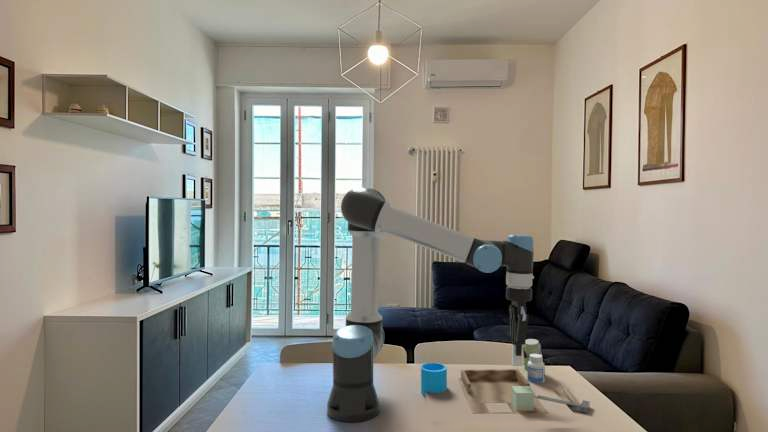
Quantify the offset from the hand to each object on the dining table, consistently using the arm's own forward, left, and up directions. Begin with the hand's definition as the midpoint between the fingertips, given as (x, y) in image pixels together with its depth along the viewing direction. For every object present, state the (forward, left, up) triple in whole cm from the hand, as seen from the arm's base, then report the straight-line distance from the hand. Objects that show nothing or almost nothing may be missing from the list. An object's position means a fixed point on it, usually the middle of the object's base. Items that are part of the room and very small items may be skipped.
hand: (516, 365), depth 141 cm
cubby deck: (-5, +3, -11) cm, 13 cm away
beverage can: (+12, +24, -12) cm, 30 cm away
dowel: (+17, +2, -12) cm, 21 cm away
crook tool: (+13, -1, -12) cm, 18 cm away
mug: (-24, +10, -12) cm, 28 cm away
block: (0, -6, -10) cm, 12 cm away
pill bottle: (+10, +14, -12) cm, 21 cm away
